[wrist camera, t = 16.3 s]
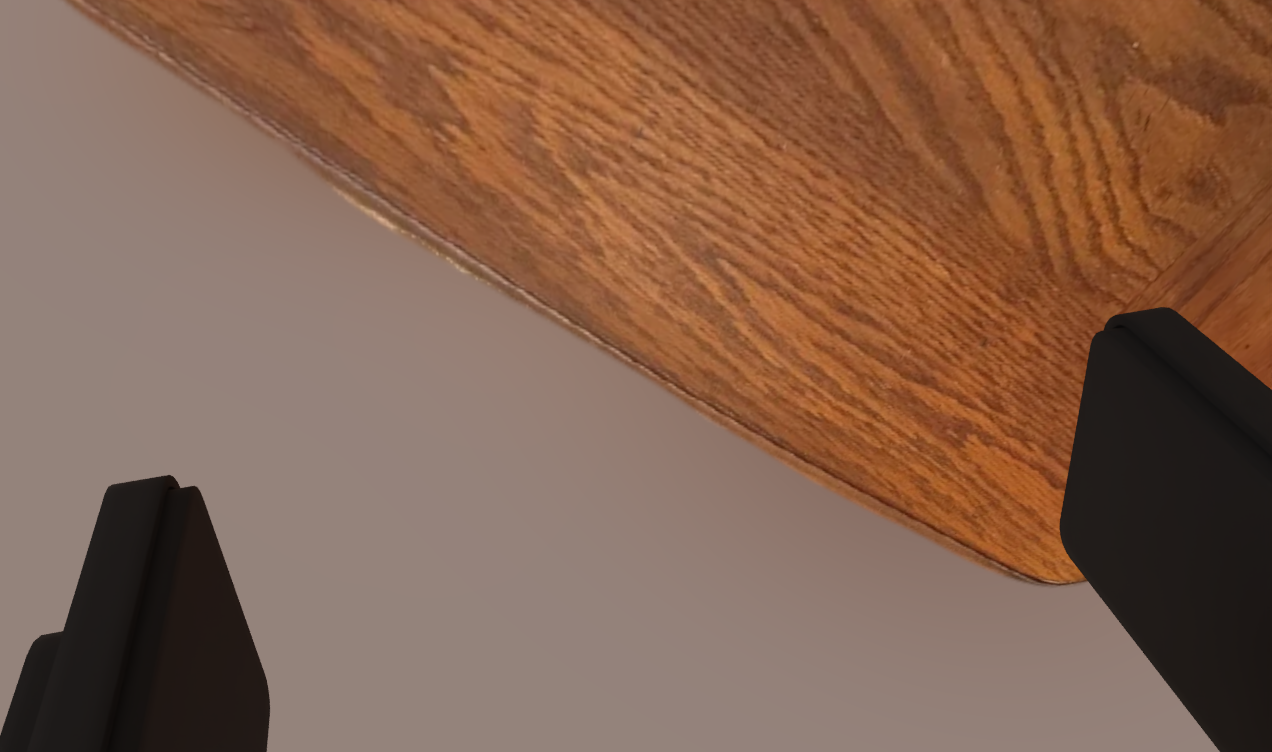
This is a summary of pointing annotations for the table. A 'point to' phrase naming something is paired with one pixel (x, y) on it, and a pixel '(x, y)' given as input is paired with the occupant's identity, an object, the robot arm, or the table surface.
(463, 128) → the table surface
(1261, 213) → the table surface
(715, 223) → the table surface
